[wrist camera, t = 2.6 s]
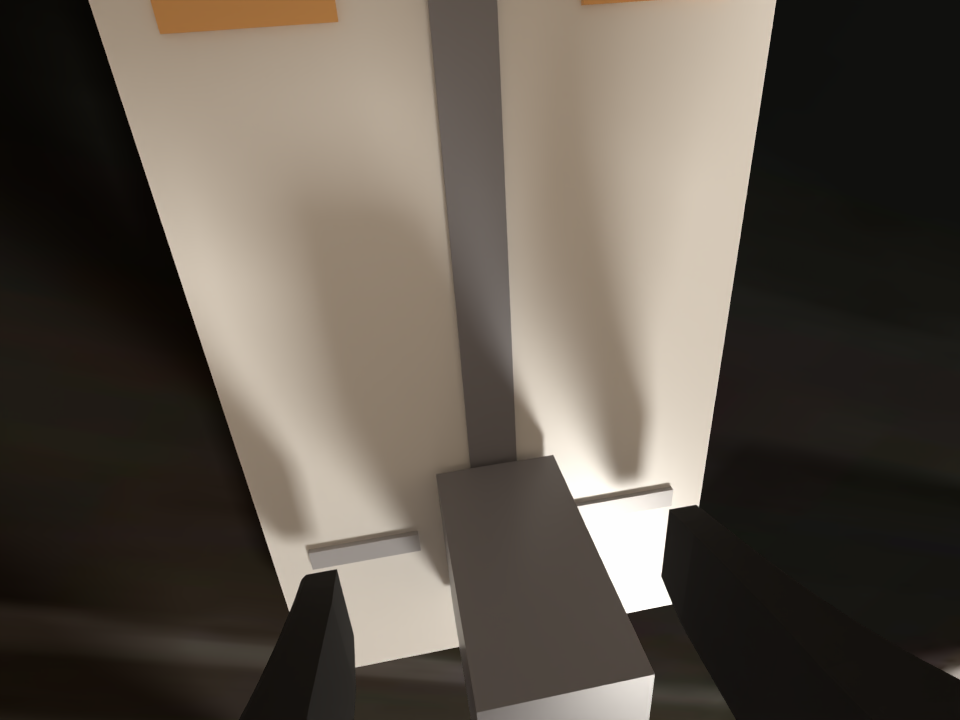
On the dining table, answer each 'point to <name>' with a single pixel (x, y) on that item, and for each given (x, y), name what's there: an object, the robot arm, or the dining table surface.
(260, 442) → the console board
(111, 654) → the dining table surface
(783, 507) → the dining table surface
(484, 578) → the fader tab
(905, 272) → the dining table surface
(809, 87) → the dining table surface
